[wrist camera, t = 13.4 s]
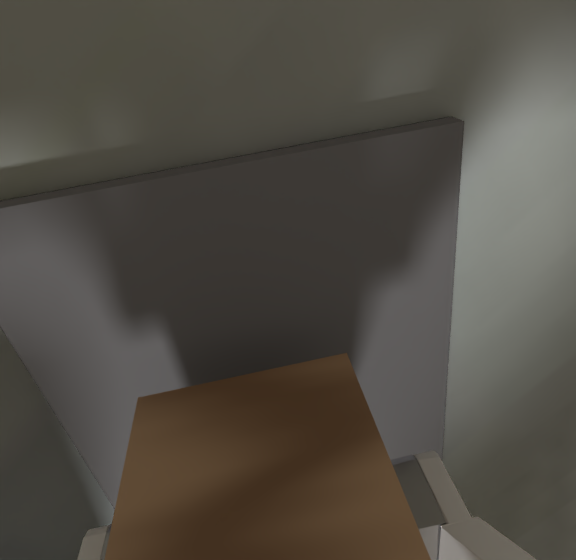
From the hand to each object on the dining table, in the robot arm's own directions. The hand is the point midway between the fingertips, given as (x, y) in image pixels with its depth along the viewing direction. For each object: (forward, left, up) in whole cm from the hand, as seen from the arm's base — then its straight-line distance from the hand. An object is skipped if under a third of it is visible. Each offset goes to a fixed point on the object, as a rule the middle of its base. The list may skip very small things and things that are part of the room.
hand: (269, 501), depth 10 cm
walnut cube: (0, 0, -2) cm, 2 cm away
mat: (0, 0, -4) cm, 4 cm away
